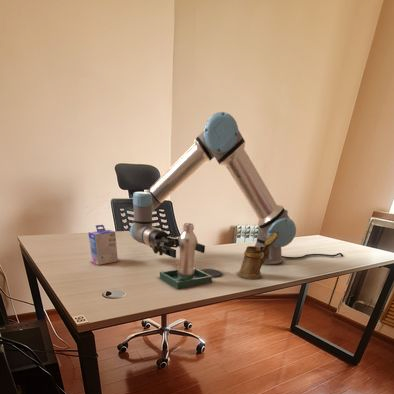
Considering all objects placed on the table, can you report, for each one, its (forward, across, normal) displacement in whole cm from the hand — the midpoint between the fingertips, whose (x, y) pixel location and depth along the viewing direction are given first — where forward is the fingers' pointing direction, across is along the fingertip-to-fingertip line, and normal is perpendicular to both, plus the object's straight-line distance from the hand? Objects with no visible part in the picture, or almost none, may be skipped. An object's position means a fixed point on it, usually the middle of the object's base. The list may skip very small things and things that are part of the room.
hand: (190, 251), depth 110 cm
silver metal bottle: (-2, 0, -11) cm, 11 cm away
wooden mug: (+9, -29, -12) cm, 32 cm away
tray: (-2, 0, -11) cm, 11 cm away
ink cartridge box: (-37, +16, -12) cm, 42 cm away
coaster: (-3, -14, -11) cm, 18 cm away
